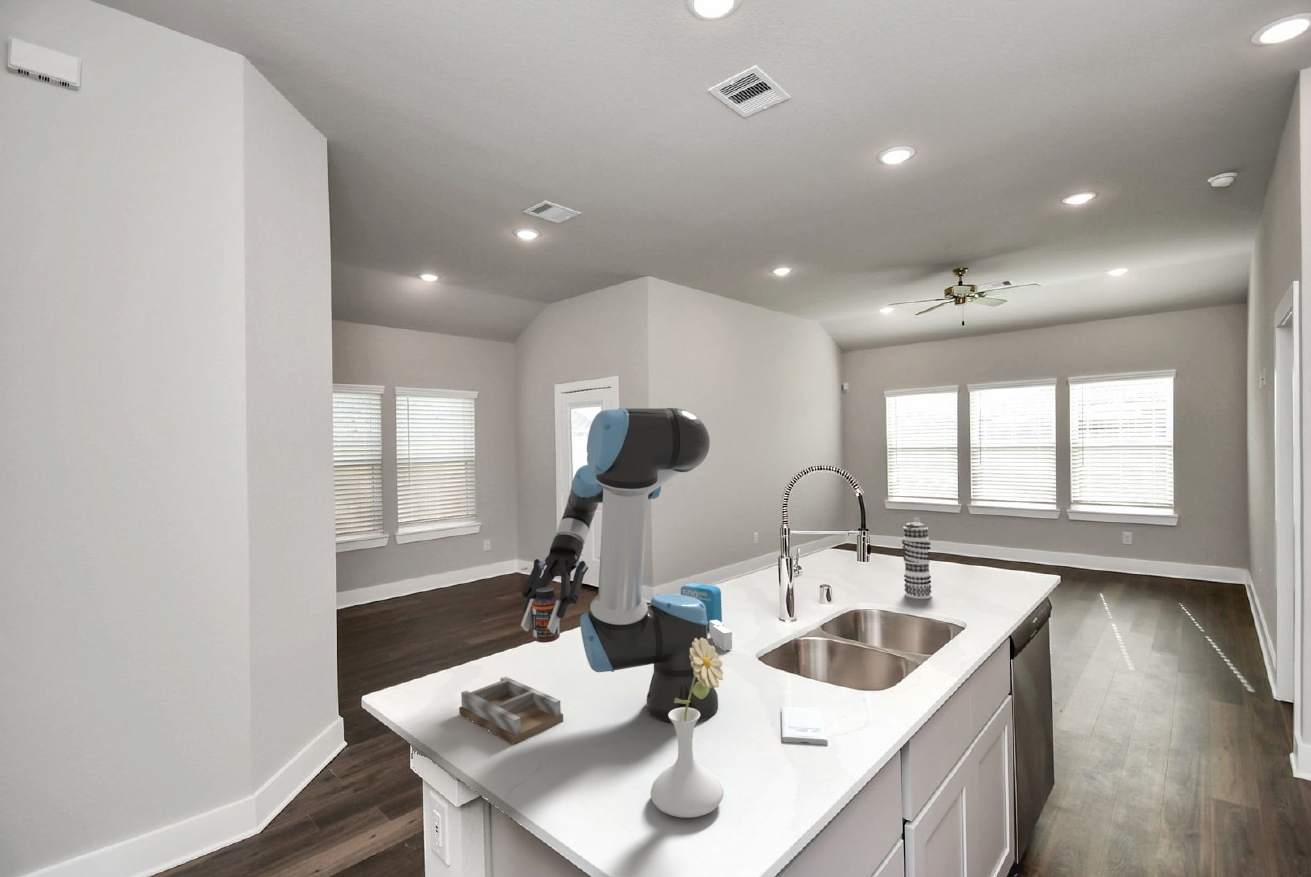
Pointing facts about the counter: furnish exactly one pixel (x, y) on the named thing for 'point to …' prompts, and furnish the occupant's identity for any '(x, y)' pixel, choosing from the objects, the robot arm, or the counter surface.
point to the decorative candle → (916, 561)
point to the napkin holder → (720, 635)
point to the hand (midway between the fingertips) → (537, 629)
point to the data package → (706, 599)
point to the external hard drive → (803, 725)
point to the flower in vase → (690, 747)
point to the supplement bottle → (544, 615)
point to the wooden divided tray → (511, 710)
